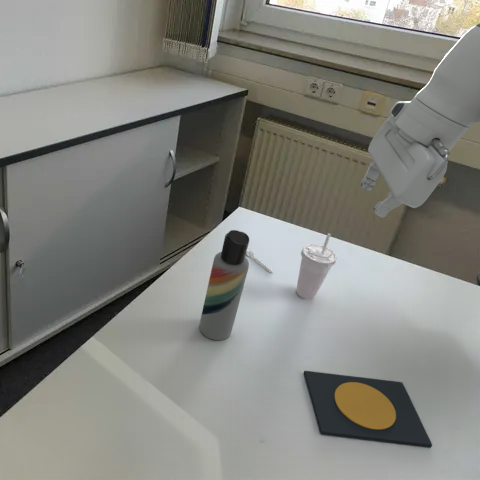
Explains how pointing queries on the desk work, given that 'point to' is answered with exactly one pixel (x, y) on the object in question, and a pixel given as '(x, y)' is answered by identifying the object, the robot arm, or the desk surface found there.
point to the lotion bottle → (225, 287)
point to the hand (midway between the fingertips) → (370, 200)
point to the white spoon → (258, 261)
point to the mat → (365, 409)
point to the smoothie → (314, 268)
